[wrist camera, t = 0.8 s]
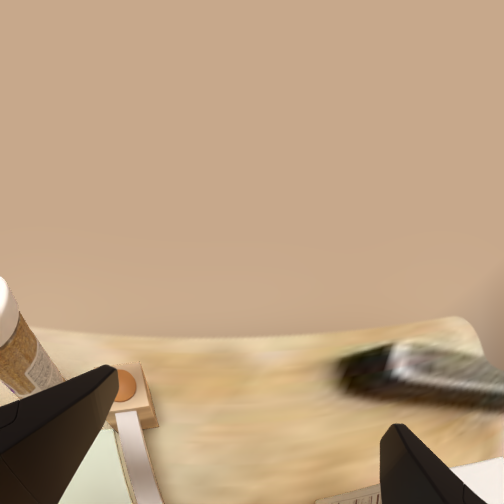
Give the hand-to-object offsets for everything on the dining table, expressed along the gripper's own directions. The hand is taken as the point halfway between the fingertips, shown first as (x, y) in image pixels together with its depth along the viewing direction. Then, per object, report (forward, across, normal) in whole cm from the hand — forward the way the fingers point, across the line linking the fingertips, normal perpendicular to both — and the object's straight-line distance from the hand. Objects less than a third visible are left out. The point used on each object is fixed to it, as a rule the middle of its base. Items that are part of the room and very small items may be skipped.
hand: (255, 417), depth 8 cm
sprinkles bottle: (+6, +15, +14) cm, 21 cm away
